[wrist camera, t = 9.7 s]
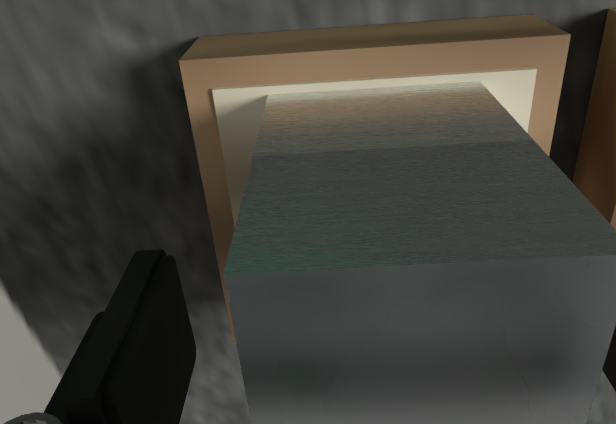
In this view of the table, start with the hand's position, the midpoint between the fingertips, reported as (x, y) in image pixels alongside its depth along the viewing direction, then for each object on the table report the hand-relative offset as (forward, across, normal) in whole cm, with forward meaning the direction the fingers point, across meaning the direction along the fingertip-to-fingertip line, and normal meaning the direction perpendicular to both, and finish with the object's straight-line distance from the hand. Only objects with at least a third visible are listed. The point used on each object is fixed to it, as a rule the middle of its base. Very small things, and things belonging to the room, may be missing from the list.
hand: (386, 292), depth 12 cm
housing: (+3, 0, 0) cm, 3 cm away
